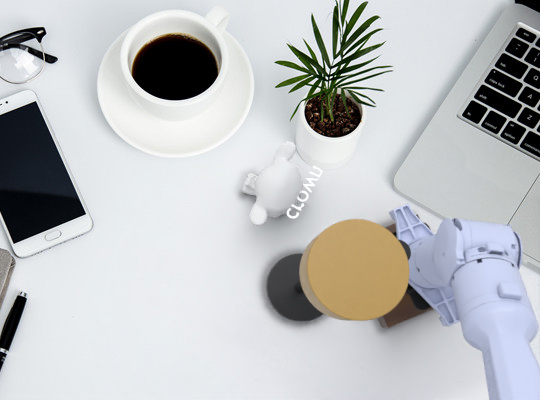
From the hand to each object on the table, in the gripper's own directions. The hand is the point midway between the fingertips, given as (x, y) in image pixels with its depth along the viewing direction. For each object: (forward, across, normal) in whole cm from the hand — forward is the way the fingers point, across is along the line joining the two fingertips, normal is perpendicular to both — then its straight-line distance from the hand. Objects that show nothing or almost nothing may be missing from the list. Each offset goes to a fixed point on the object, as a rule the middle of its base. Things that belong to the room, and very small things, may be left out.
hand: (404, 269), depth 80 cm
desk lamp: (+3, -3, -13) cm, 14 cm away
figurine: (+4, -16, -11) cm, 20 cm away
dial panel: (+3, 0, 0) cm, 3 cm away
